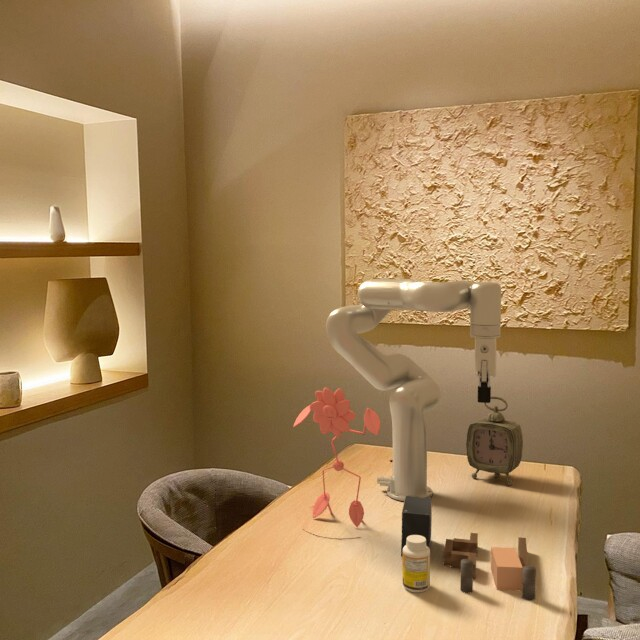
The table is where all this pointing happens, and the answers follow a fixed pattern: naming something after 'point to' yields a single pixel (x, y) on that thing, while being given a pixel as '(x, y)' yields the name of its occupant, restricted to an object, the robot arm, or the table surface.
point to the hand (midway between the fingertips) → (484, 401)
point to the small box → (416, 519)
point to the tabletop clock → (494, 444)
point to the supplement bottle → (416, 564)
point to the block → (506, 568)
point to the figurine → (334, 418)
